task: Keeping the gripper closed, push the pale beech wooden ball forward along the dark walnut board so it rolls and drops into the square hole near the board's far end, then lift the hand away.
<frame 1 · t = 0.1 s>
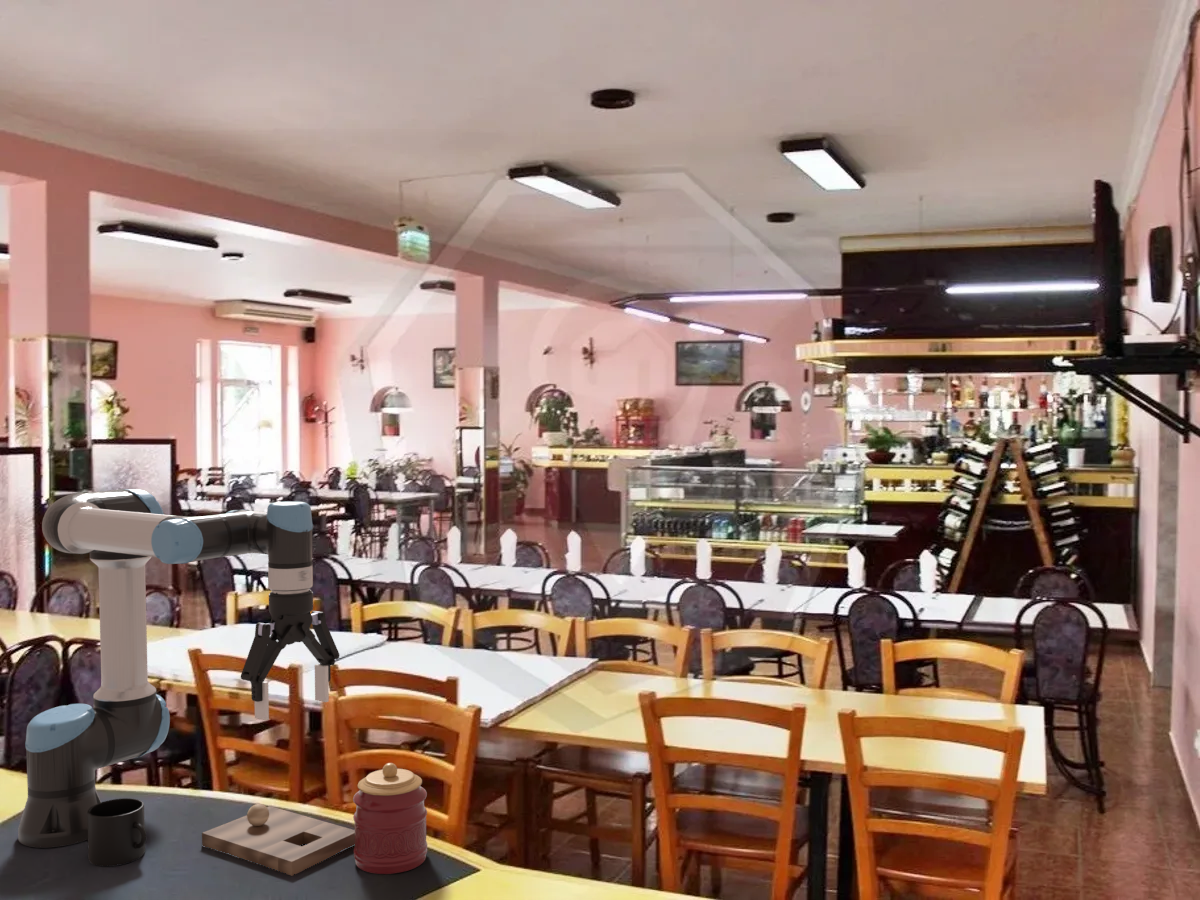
hand: (292, 709, 195), 28 cm above the table, tool pointing down, fingers open, 13 cm apart
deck: (280, 845, 205), on the table
ball: (258, 815, 208), point 4 cm above the table, touching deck
mug: (122, 858, 199), on the table
canister: (390, 861, 198), on the table
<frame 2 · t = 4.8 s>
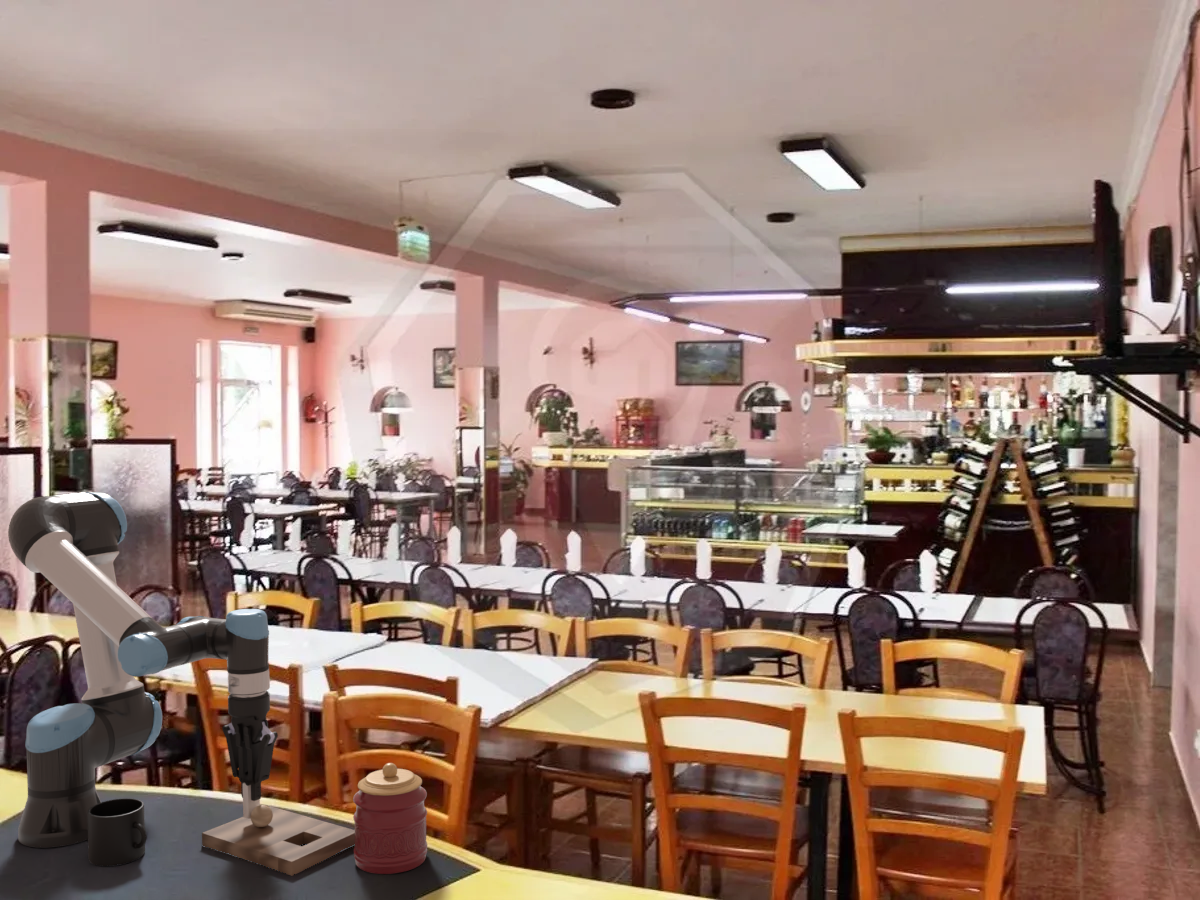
hand: (251, 815, 209), 4 cm above the table, tool pointing down, fingers closed
ball: (261, 816, 207), point 4 cm above the table, tilted 25°, touching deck
everything else where it was.
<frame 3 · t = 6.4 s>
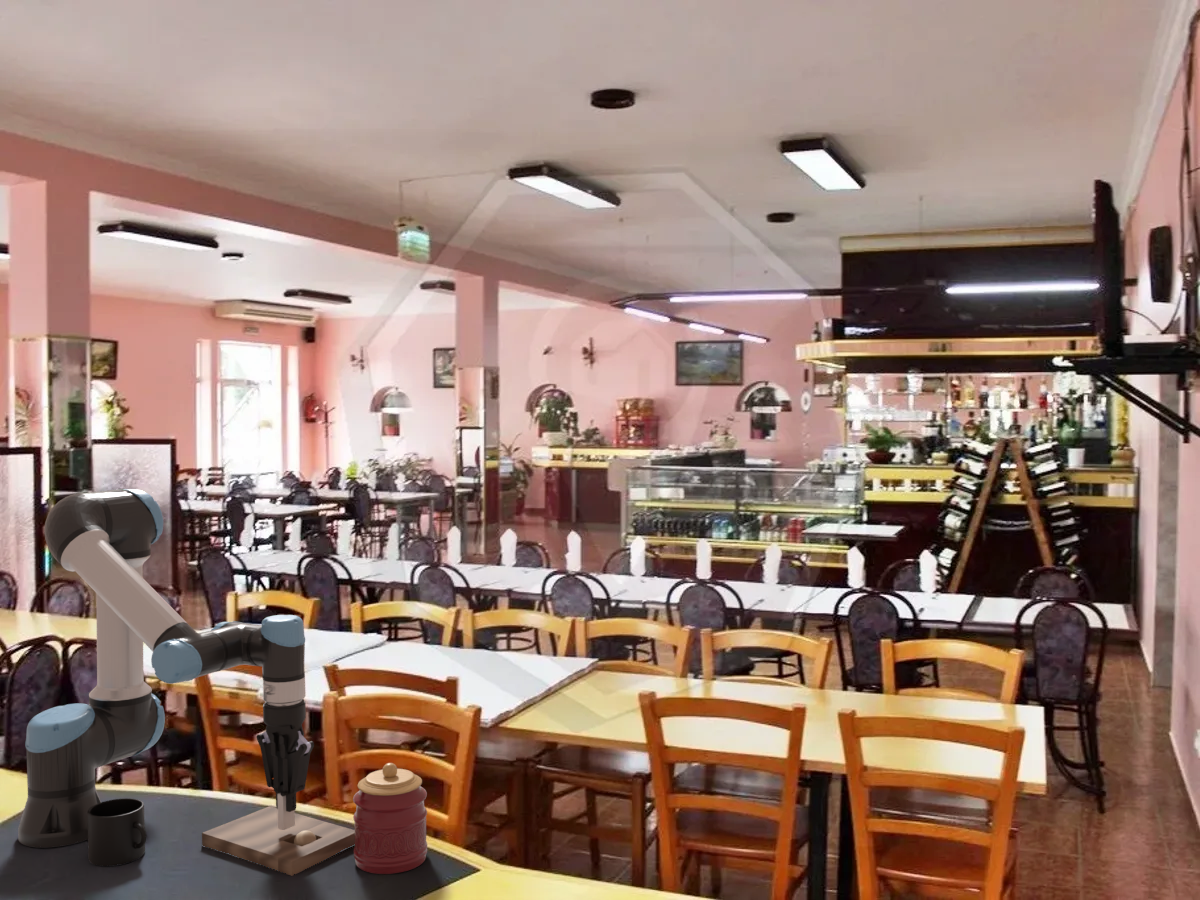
hand: (286, 826, 204), 4 cm above the table, tool pointing down, fingers closed
ball: (305, 842, 201), point 2 cm above the table, tilted 48°
everything else where it was.
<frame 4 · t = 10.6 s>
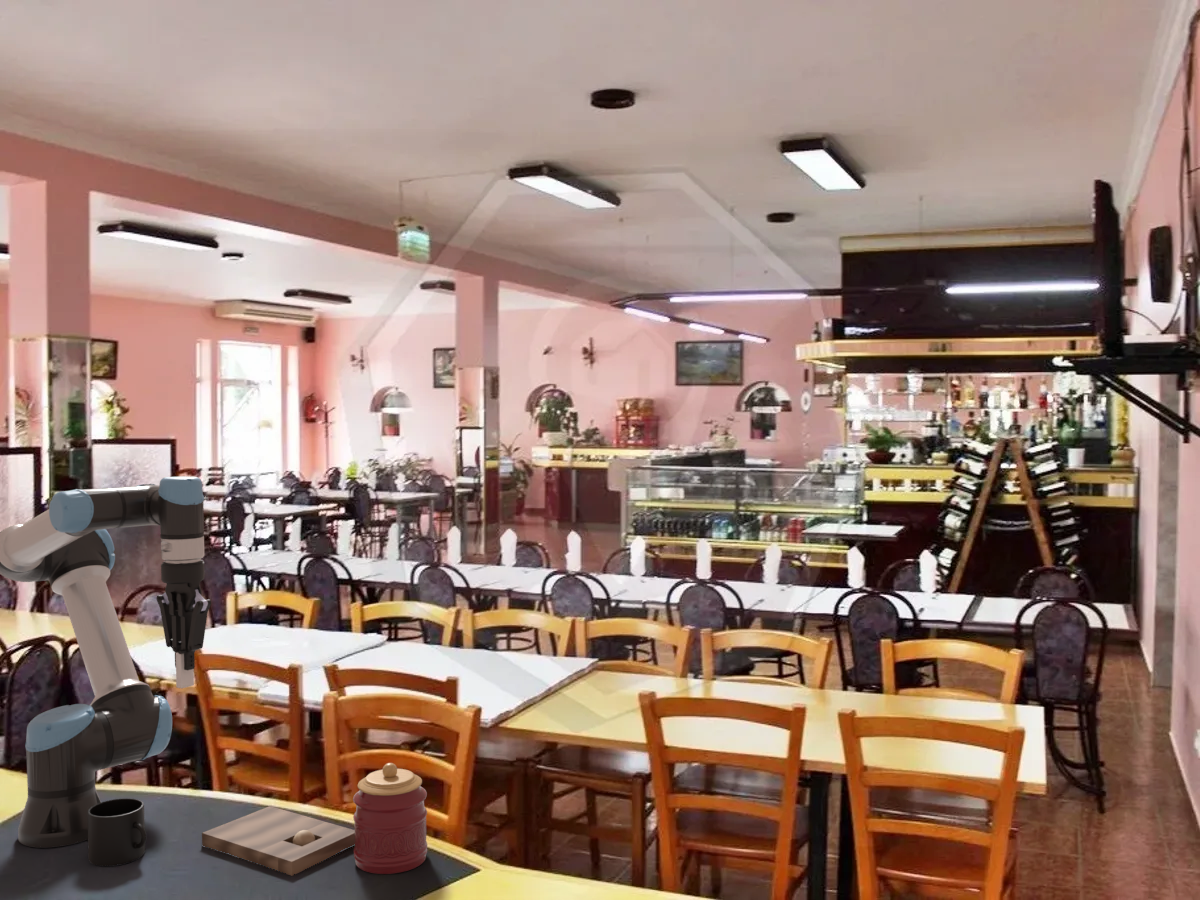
hand: (185, 686, 205), 29 cm above the table, tool pointing down, fingers closed
ball: (304, 841, 201), point 2 cm above the table, tilted 39°
everything else where it was.
at the end: ball 0.1 cm from the target spot on the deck, point 2.0 cm above the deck's base; the gripper is holding nothing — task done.
